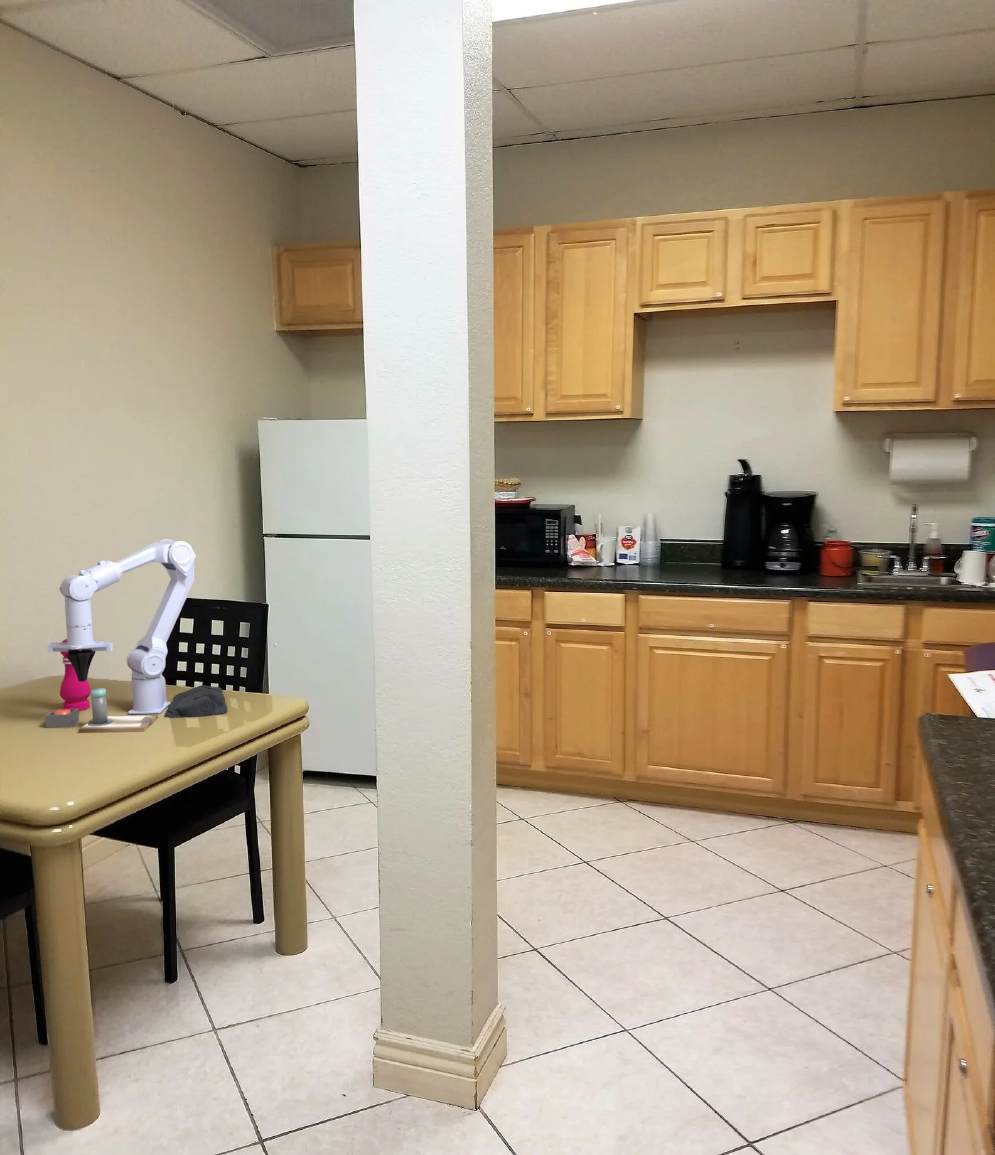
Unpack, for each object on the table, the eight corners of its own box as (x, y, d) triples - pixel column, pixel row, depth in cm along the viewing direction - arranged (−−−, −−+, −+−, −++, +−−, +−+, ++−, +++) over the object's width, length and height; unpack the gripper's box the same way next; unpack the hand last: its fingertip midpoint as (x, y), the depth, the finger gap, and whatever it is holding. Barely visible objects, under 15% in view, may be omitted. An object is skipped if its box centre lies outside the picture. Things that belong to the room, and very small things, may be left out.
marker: (95, 720, 224) (93, 688, 223) (109, 720, 224) (107, 687, 223) (90, 724, 221) (88, 691, 220) (105, 724, 221) (103, 691, 220)
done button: (57, 717, 227) (57, 709, 226) (73, 716, 227) (72, 708, 227) (51, 721, 223) (51, 713, 223) (67, 720, 223) (66, 712, 223)
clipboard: (95, 719, 229) (95, 713, 229) (158, 718, 230) (157, 711, 230) (78, 732, 218) (78, 726, 218) (144, 731, 219) (143, 724, 219)
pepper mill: (54, 711, 236) (49, 633, 234) (73, 704, 243) (68, 628, 241) (79, 713, 235) (74, 635, 232) (98, 705, 242) (93, 629, 239)
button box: (55, 721, 228) (54, 709, 227) (79, 720, 228) (78, 708, 228) (46, 727, 222) (45, 715, 222) (70, 727, 223) (69, 715, 222)
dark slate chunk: (230, 695, 254) (229, 678, 253) (227, 717, 232) (226, 698, 232) (171, 698, 250) (170, 681, 249) (162, 721, 229) (161, 702, 228)
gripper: (41, 628, 219) (45, 685, 221) (104, 627, 220) (107, 684, 222) (53, 623, 226) (57, 678, 228) (114, 622, 227) (117, 677, 229)
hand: (82, 680), depth 225 cm, fingers closed
